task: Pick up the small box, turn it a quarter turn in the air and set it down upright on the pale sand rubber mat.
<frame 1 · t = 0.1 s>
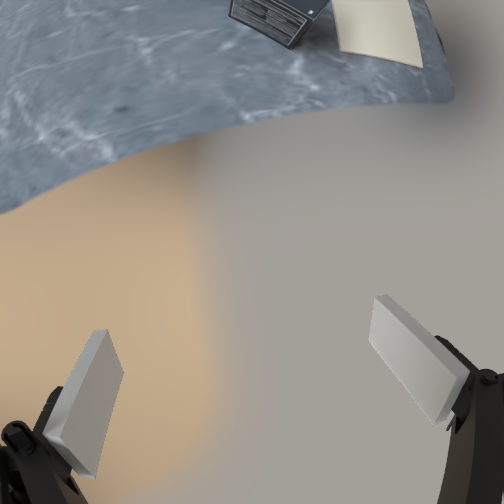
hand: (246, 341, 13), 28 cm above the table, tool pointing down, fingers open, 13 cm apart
small box: (270, 19, 31), on the table
mat: (376, 18, 32), on the table
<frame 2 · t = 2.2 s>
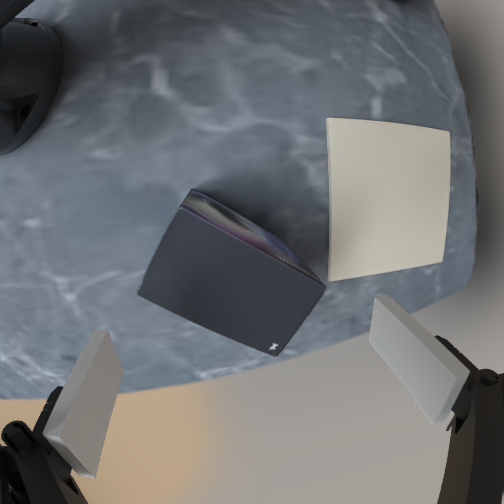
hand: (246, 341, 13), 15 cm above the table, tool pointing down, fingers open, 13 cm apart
small box: (225, 242, 27), on the table
mat: (396, 198, 28), on the table
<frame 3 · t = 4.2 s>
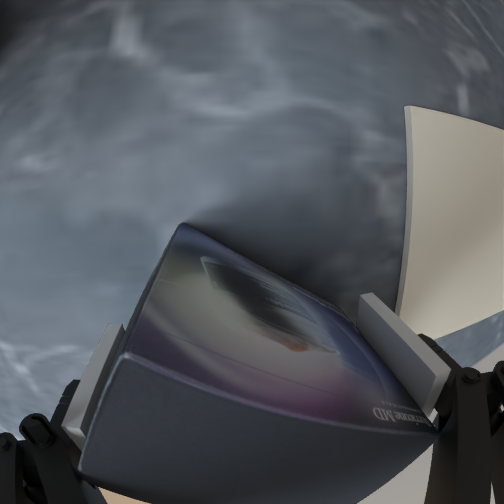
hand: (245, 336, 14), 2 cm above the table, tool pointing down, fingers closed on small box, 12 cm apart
small box: (241, 310, 16), on the table, touching gripper
mat: (480, 232, 17), on the table
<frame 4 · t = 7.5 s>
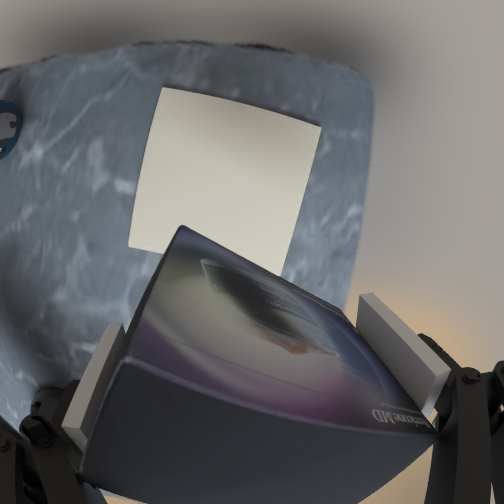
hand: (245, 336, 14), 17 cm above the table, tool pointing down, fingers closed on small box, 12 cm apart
small box: (241, 311, 16), point 14 cm above the table, touching gripper
mat: (222, 183, 28), on the table
soda can: (5, 131, 22), on the table
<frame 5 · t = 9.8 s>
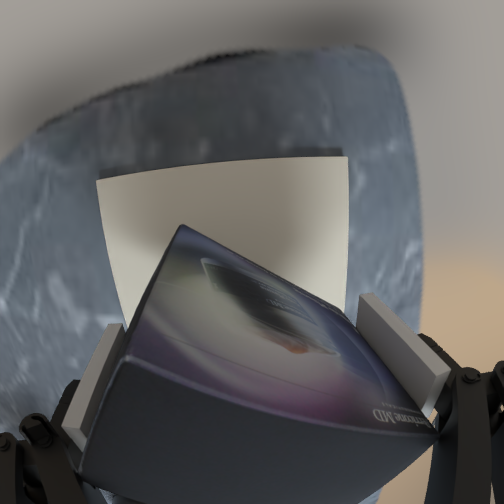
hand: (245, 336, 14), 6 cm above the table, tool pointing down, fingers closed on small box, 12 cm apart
small box: (241, 311, 16), point 4 cm above the table, touching gripper
mat: (233, 282, 20), on the table
when the fingers open (4 cm above the table, at t = 11.3 s): small box drops 1 cm, resting on mat.
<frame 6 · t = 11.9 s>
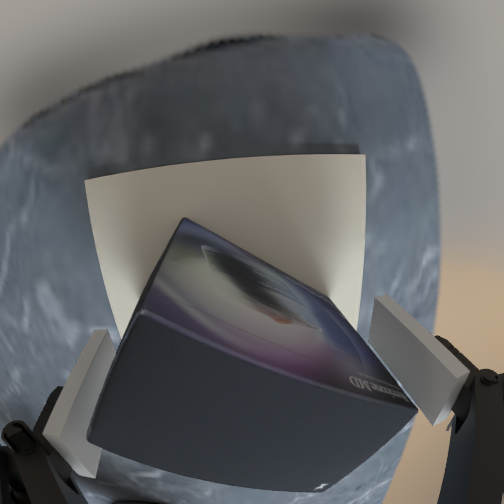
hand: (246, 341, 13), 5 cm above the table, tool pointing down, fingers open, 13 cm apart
small box: (238, 298, 17), resting on mat
mat: (238, 293, 18), on the table
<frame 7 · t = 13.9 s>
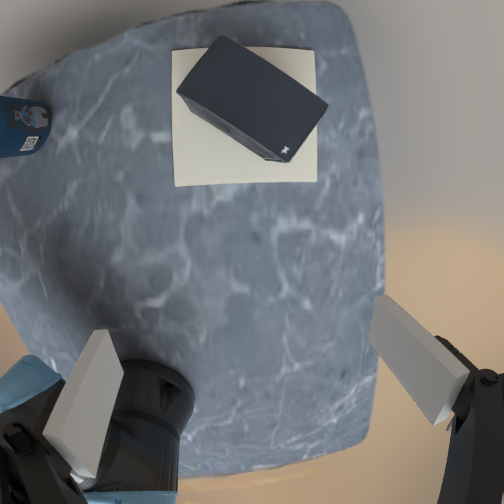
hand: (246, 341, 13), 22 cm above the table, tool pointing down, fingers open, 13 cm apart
small box: (245, 112, 29), resting on mat
mat: (245, 112, 29), on the table
soda can: (36, 128, 27), on the table
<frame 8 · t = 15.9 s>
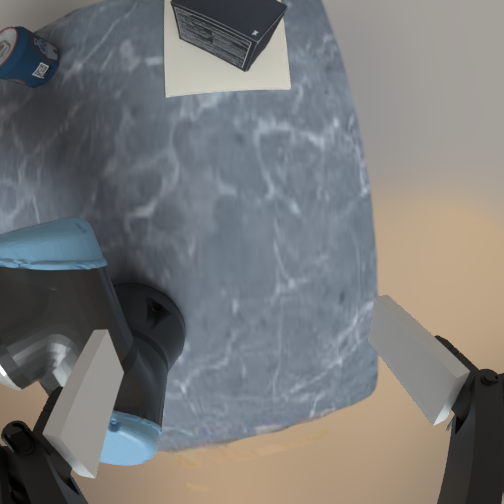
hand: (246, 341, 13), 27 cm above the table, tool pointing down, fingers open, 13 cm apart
small box: (225, 38, 30), resting on mat
mat: (225, 38, 30), on the table
soda can: (44, 67, 27), on the table
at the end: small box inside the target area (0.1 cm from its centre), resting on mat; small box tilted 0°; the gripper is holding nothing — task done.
